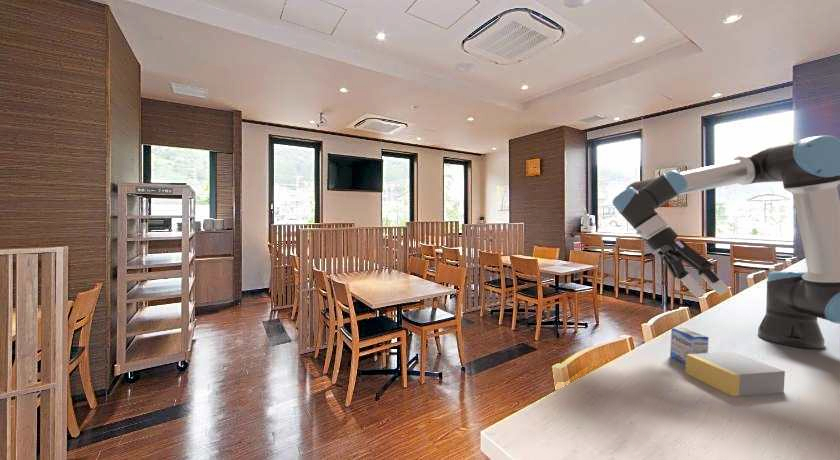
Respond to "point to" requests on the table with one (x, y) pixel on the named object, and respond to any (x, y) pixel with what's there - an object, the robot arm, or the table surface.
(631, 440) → the table surface
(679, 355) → the medicine box
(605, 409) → the table surface
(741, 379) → the block
